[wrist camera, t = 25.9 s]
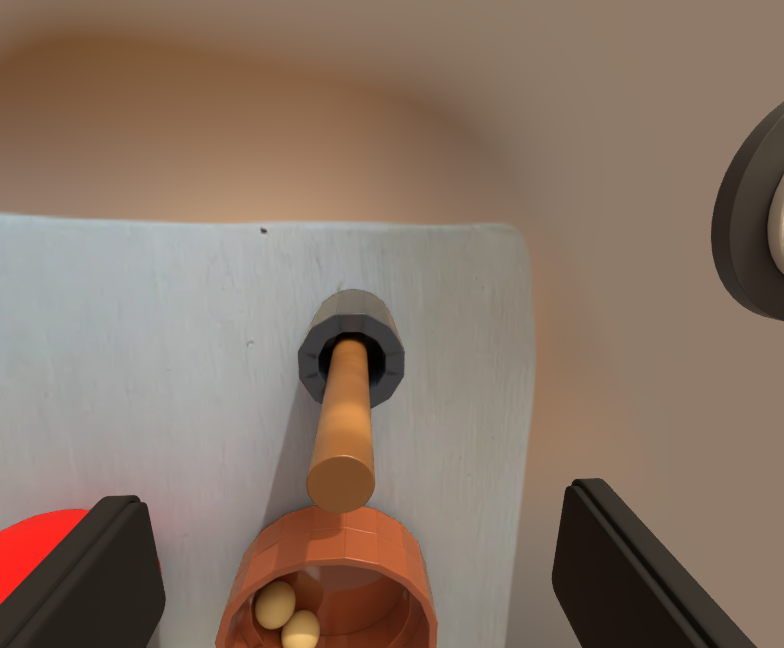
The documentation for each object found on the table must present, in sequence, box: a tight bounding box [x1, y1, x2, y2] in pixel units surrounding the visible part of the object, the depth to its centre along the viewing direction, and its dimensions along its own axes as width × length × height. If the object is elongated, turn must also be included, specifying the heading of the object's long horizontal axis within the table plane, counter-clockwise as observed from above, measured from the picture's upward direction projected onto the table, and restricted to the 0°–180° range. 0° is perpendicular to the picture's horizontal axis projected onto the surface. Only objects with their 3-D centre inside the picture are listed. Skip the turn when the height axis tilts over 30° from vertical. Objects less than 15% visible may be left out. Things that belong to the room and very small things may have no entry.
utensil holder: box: [298, 289, 405, 409], centre depth 22 cm, size 5×5×7 cm
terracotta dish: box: [215, 505, 438, 648], centre depth 29 cm, size 15×15×6 cm
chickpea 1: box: [255, 581, 296, 629], centre depth 29 cm, size 3×3×3 cm
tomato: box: [0, 509, 161, 604], centre depth 23 cm, size 13×14×12 cm
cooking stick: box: [306, 332, 375, 513], centre depth 17 cm, size 2×2×16 cm
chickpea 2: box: [281, 610, 320, 648], centre depth 30 cm, size 3×3×3 cm
